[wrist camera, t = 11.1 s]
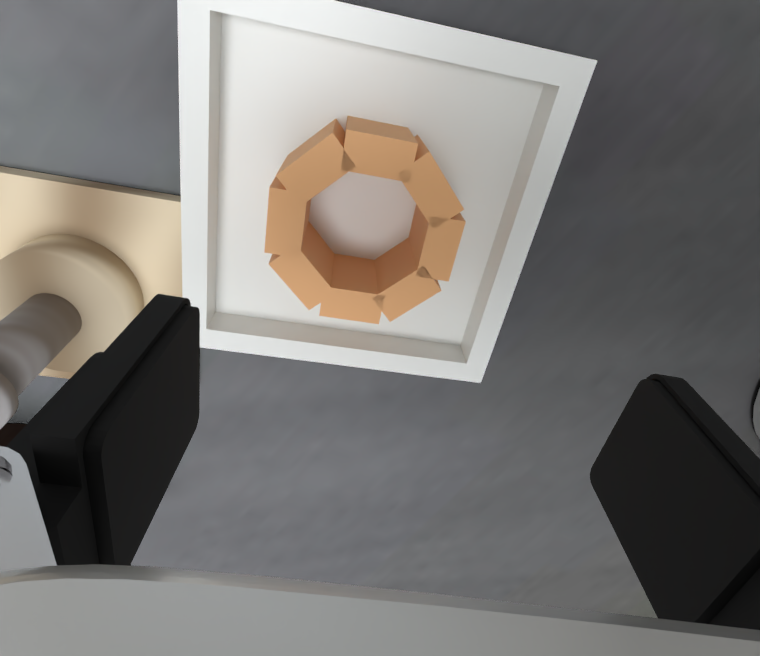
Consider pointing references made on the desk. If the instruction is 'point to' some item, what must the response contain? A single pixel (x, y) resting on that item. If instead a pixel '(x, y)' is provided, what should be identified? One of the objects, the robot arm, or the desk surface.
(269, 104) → the tray
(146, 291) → the stake
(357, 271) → the ring
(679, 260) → the desk surface
